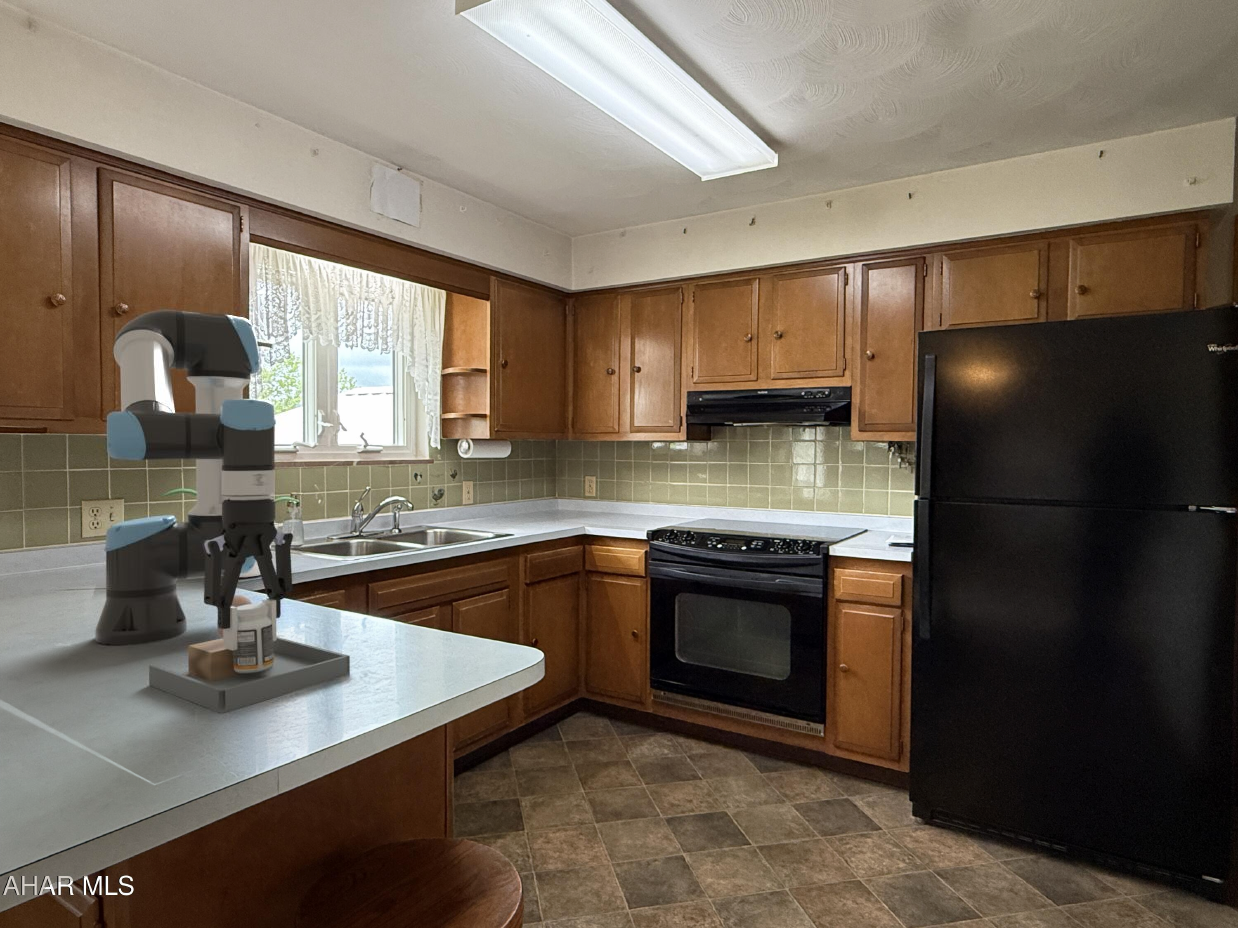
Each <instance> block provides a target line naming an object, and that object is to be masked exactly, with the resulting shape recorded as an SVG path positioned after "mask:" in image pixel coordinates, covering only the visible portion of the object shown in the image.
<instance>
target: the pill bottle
mask: <svg viewBox="0 0 1238 928" xmlns="http://www.w3.org/2000/svg"><path fill="white" fill-rule="evenodd" d="M267 612H268V605H267V604H263V603H262V602H261V603H252V604H248V605H242V606H239V607H237V646H238V649H237V650H233V665H234V670H235V671H236V672H238V673H253V672H259V671H263V670H266V669H269V668H270V667H272V666H273V664H274V654H273V631H272V621H271V620H270V619H269V618H268V617H267V616H266V614H267Z"/></svg>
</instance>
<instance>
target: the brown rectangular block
mask: <svg viewBox="0 0 1238 928" xmlns="http://www.w3.org/2000/svg"><path fill="white" fill-rule="evenodd" d="M187 647H188V652H187V653H188V654H187V655H188V657H187V658H188V659H187V660H188V663H187V664H188V672H189V674H191V675H194V676H197V677H200V678H202V679H205V680H208V681H211V682H212V681H216V680H220V679H224V678H227V677H231V676H235V675H239V674H243V673H238V672H236V671H235V670H234V665H233V650H229V649H226V648H223V638H222V637H221V638H218V639H213V640H208V641H204V642H200V643H199V642H198V643H194V644H190V645H188V646H187Z"/></svg>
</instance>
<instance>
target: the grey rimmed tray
mask: <svg viewBox="0 0 1238 928" xmlns="http://www.w3.org/2000/svg"><path fill="white" fill-rule="evenodd" d="M273 654H274V664H273V666H272V667H270V668H269V669H266V670H263V671H259V672H253V673H243V674H239V675H235V676H231V677H227V678H224V679H220V680H216V681H212V682H211V681H208V680H205V679H202V678H200V677H197V676H194V675H191V674H189V671H187V672H182V673H179V672H176V671H174V670H171V669H168V668H166V667H162V666H159V665H156V664H149V665H148V676H149V677H148V680H149V682H148V683H149V686H151V687H153V688H155V689H158V690H161V691H163V692H166V693H167V694H171V695H174V696H176V697H179V698H182V699H184V700H186V701H189V702H191V703H194V704H197V705H200V706H202V707H203V708H207V709H209V710H211V711H213V712H217V713H219V714H225V713H227V712H230V711H234V710H237V709H240V708H245V707H247V706H250V705H251V706H252V705H253V704H257V703H260V702H264V701H267V700H270V699H274V698H276V697H277V698H278V697H280V696H284V695H287V694H291V693H294V692H296V691H301V690H304V689H306V688H309V687H313V686H316V685H320V684H323V683H326V682H328V681H331V680H334V679H338V678H342V677H344V676H347V675H350V673H351V672H350V671H351V669H350V668H351V665H350V664H351V662H350V661H351V657H350V656H351V655H348V654H343V653H341V652H336V651H333V650H329V649H325V648H321V647H317V646H313V645H309V644H306V643H302V642H297V641H294V640H292V639H291V640H290V639H286V638H283V637H279V636H277V640H276V641H273Z"/></svg>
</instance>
